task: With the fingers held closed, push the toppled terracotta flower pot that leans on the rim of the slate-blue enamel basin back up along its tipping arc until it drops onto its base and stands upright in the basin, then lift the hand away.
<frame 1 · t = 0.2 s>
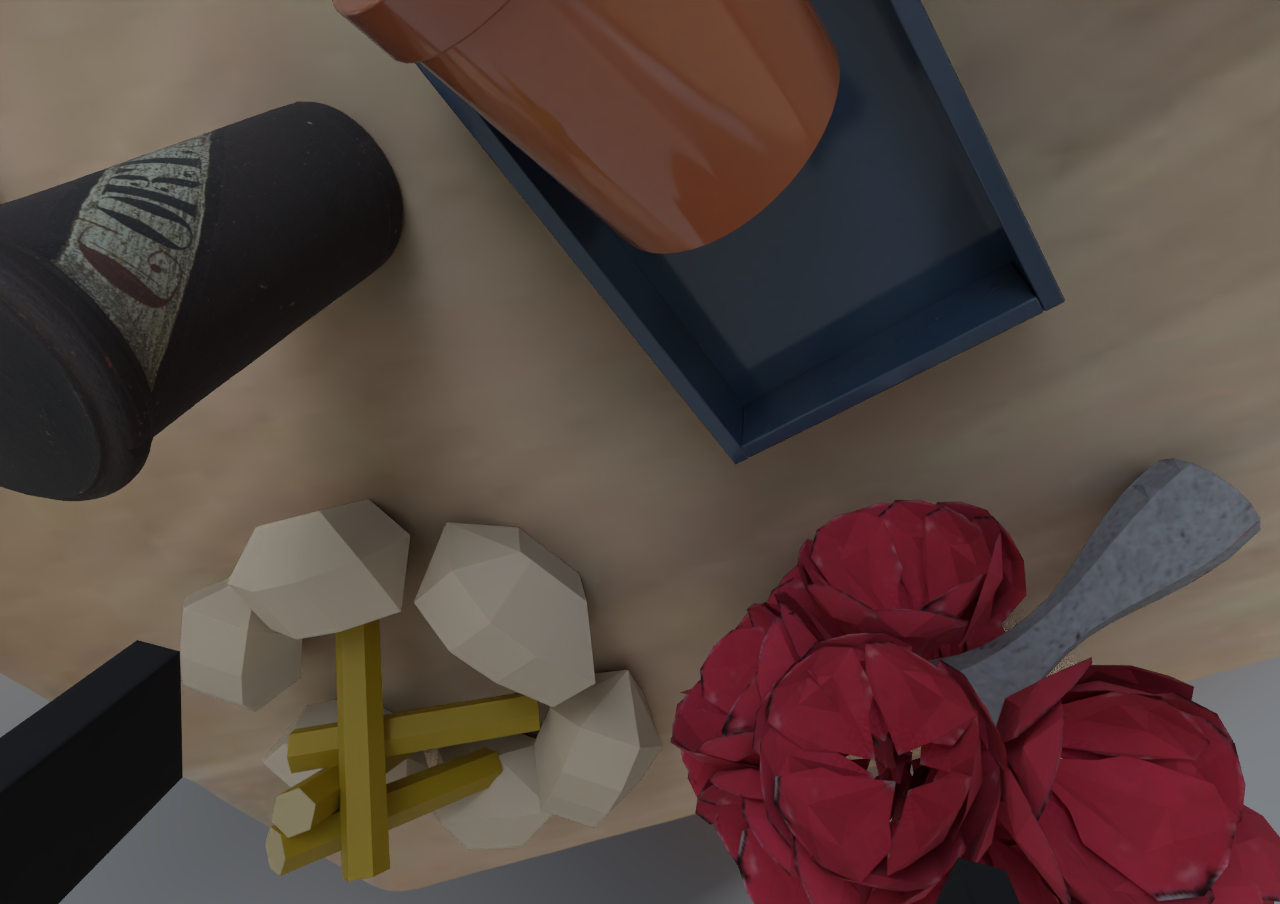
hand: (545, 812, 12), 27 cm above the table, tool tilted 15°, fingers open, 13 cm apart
flower pot: (712, 134, 26), point 5 cm above the table, touching basin
basin: (741, 142, 31), on the table
container: (331, 193, 35), on the table
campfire: (443, 650, 56), on the table
bouquet: (929, 565, 43), on the table
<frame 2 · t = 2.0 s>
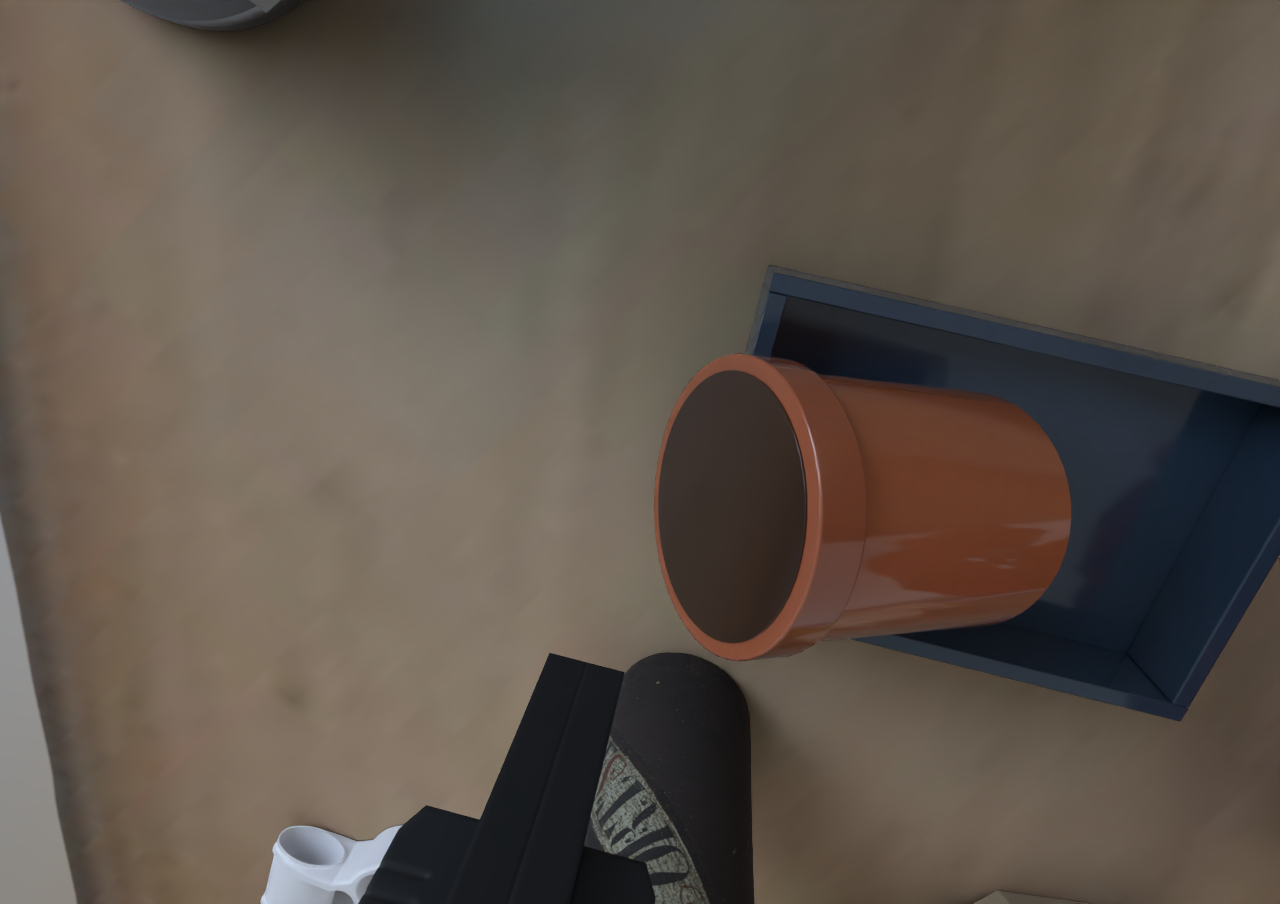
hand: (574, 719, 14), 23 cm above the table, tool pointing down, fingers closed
flower pot: (958, 507, 30), point 5 cm above the table, touching basin
basin: (959, 475, 35), on the table
container: (681, 709, 41), on the table
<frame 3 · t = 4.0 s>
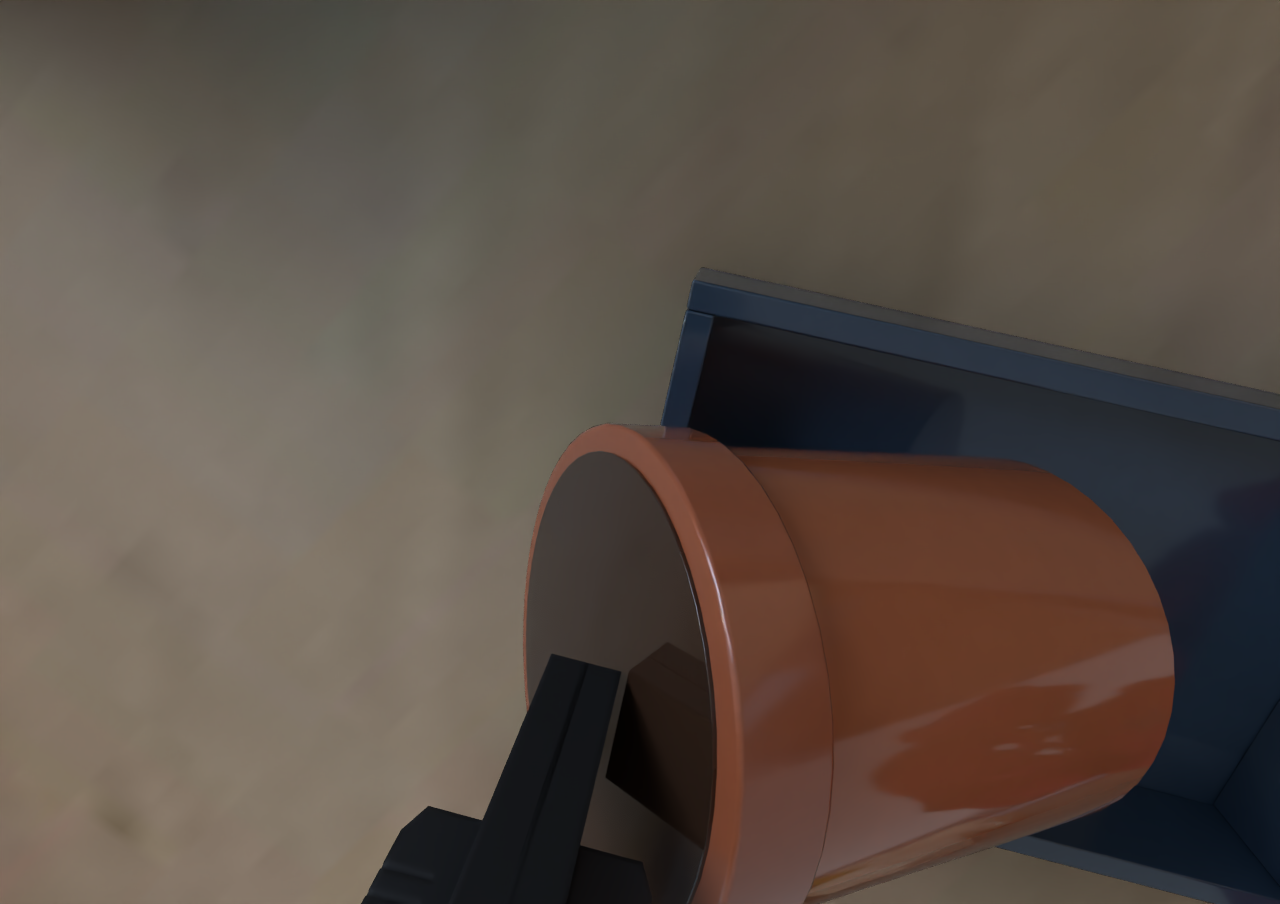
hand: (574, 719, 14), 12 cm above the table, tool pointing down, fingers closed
flower pot: (981, 629, 20), point 5 cm above the table, touching basin, gripper
basin: (977, 561, 25), on the table
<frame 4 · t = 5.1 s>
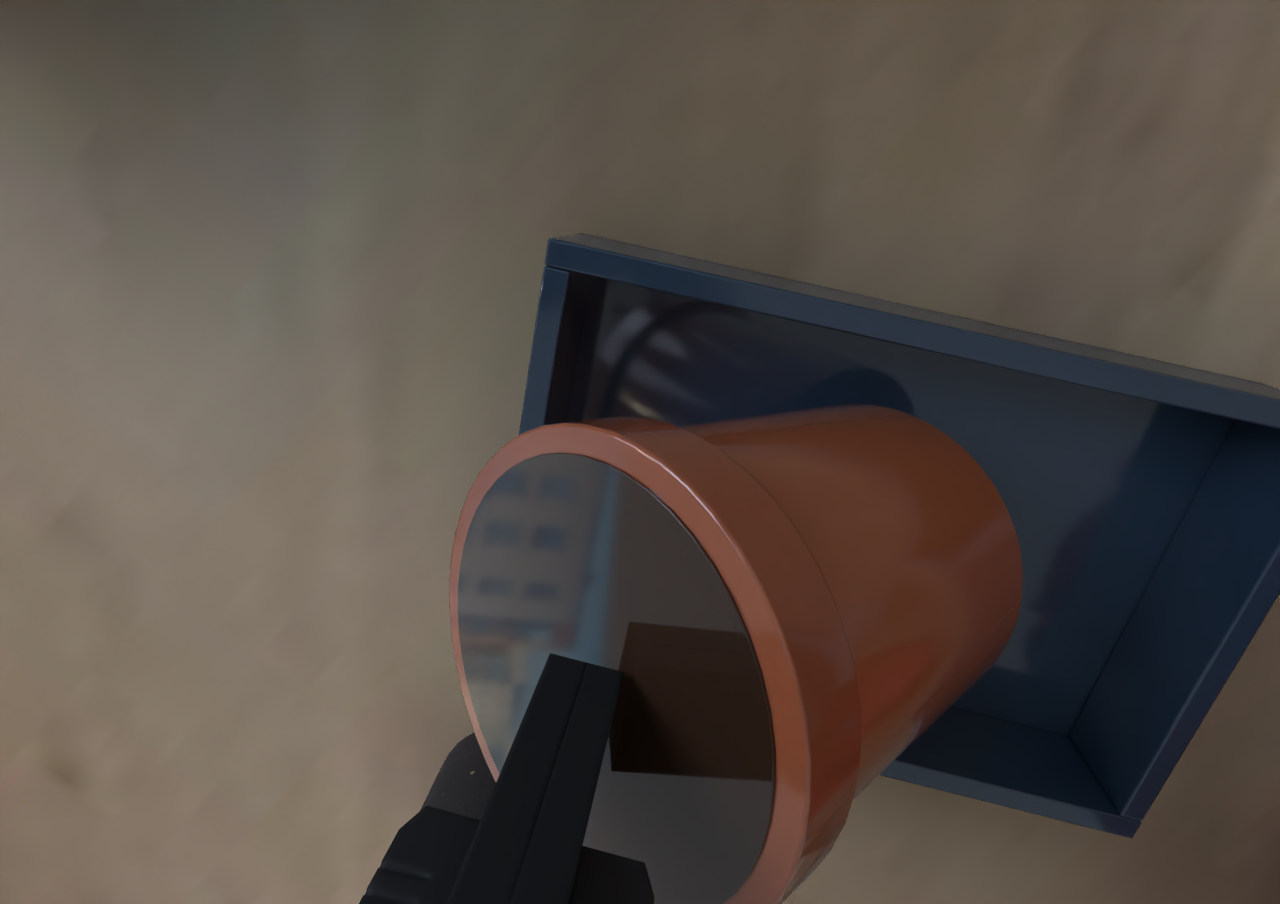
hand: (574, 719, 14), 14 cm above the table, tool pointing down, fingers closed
flower pot: (858, 554, 23), point 4 cm above the table, tilted 21°, touching basin, gripper
basin: (845, 509, 27), on the table
container: (525, 794, 33), on the table
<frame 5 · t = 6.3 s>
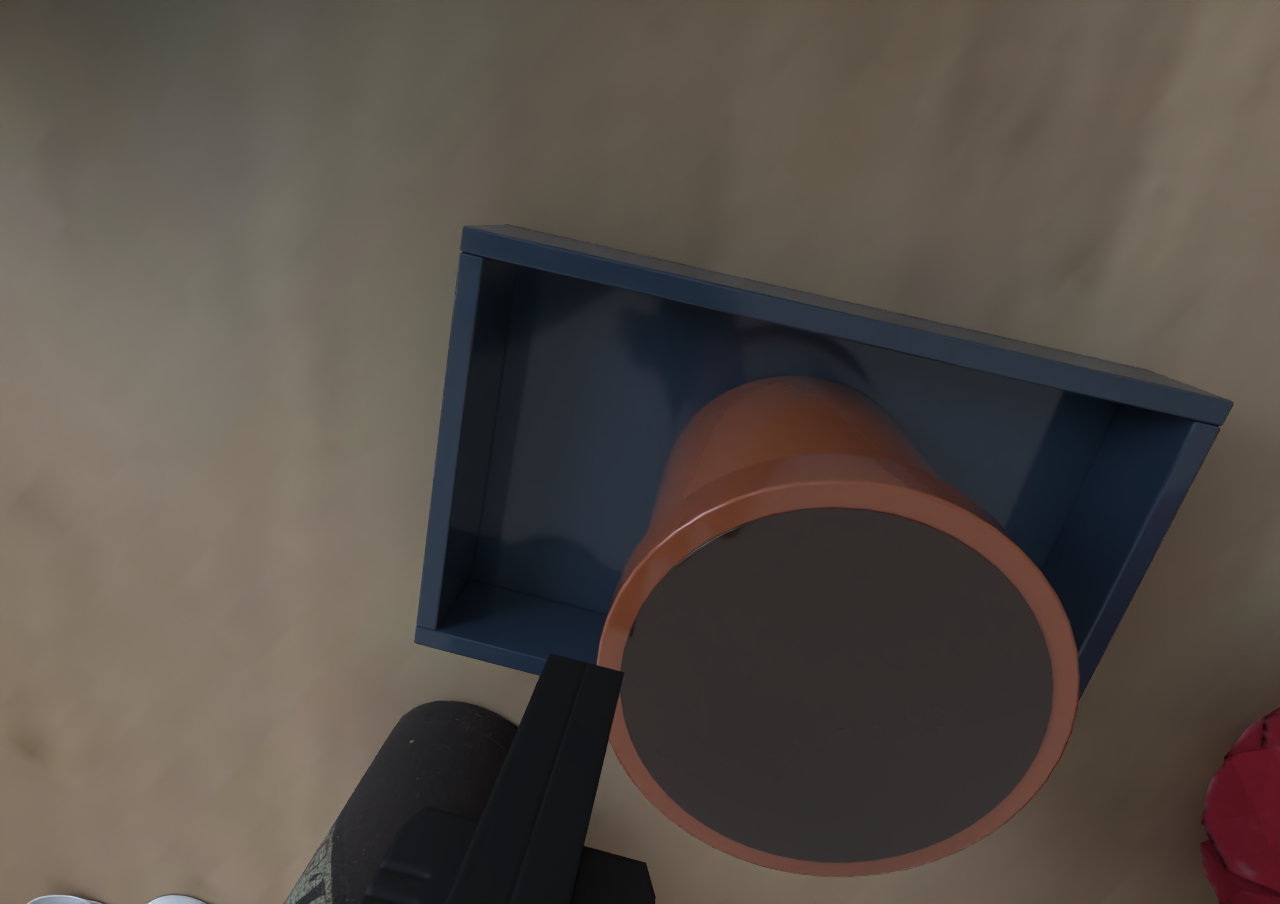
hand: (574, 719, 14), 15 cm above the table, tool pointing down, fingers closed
flower pot: (787, 500, 27), point 1 cm above the table, tilted 60°, touching basin
basin: (763, 489, 28), on the table
container: (469, 767, 35), on the table
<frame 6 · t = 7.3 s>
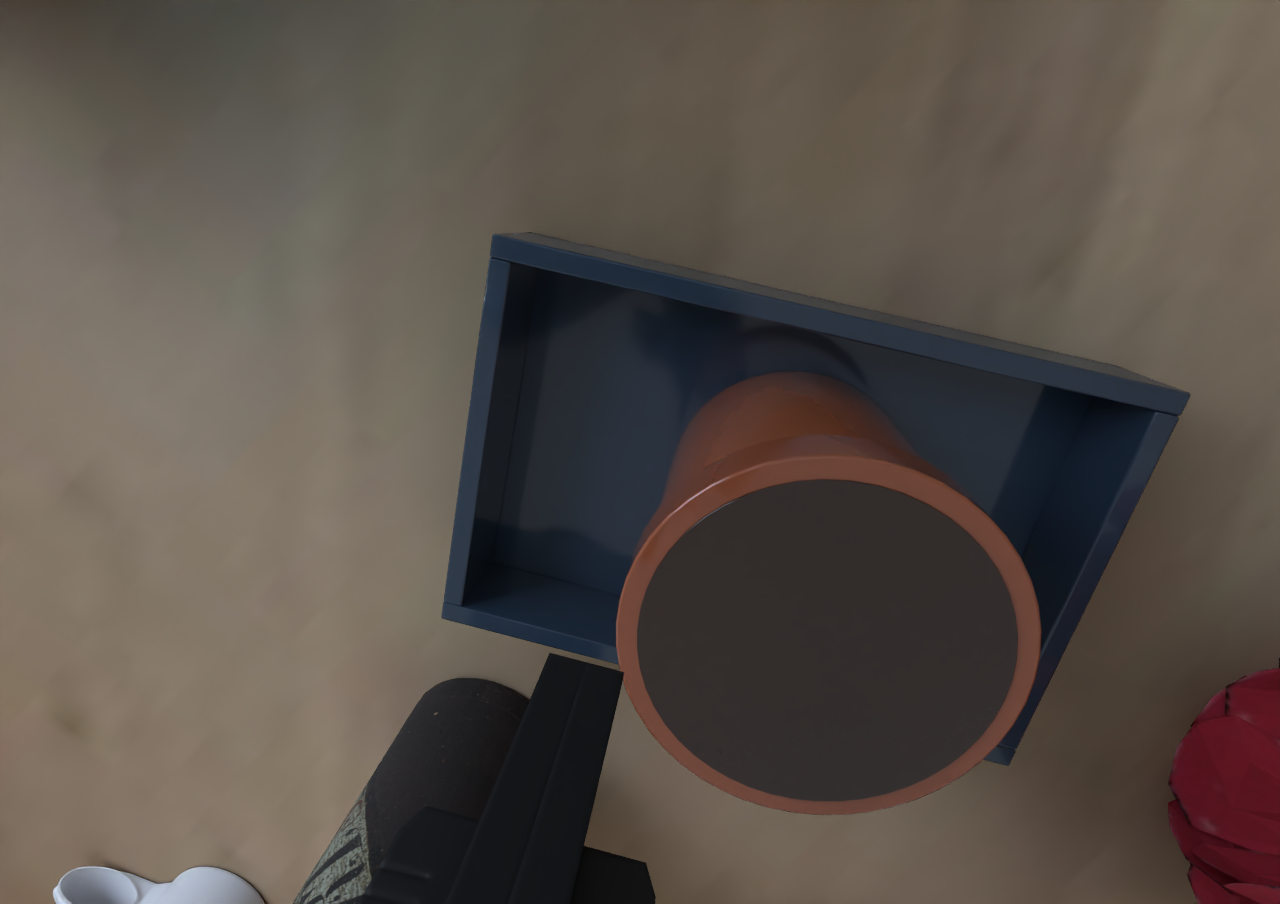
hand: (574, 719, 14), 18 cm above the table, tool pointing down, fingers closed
flower pot: (787, 487, 30), point 1 cm above the table, tilted 60°, touching basin
basin: (764, 477, 30), on the table
container: (487, 741, 37), on the table
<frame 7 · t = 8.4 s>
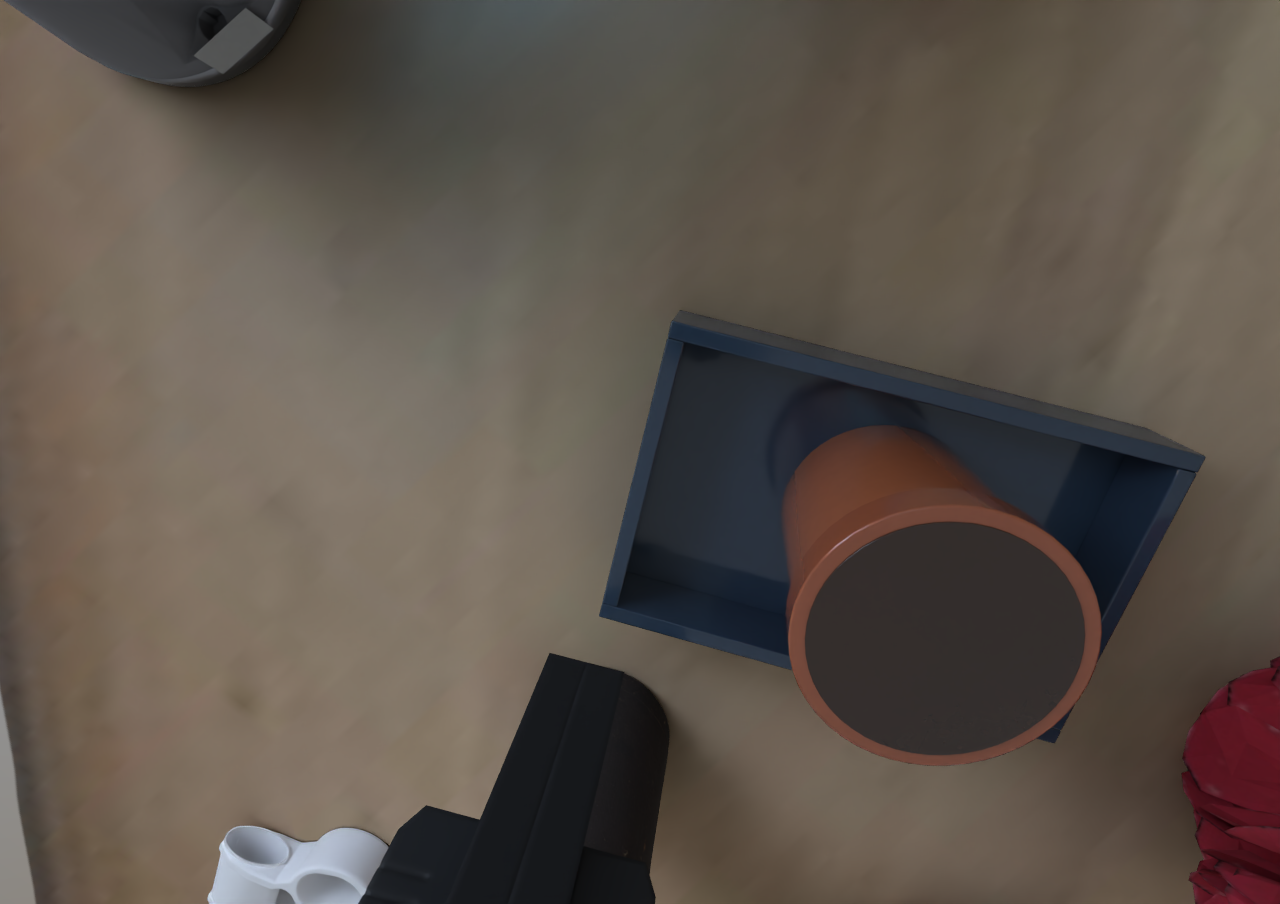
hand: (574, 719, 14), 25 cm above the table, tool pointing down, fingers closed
flower pot: (877, 516, 37), point 1 cm above the table, tilted 60°, touching basin
basin: (858, 507, 37), on the table
container: (606, 722, 44), on the table
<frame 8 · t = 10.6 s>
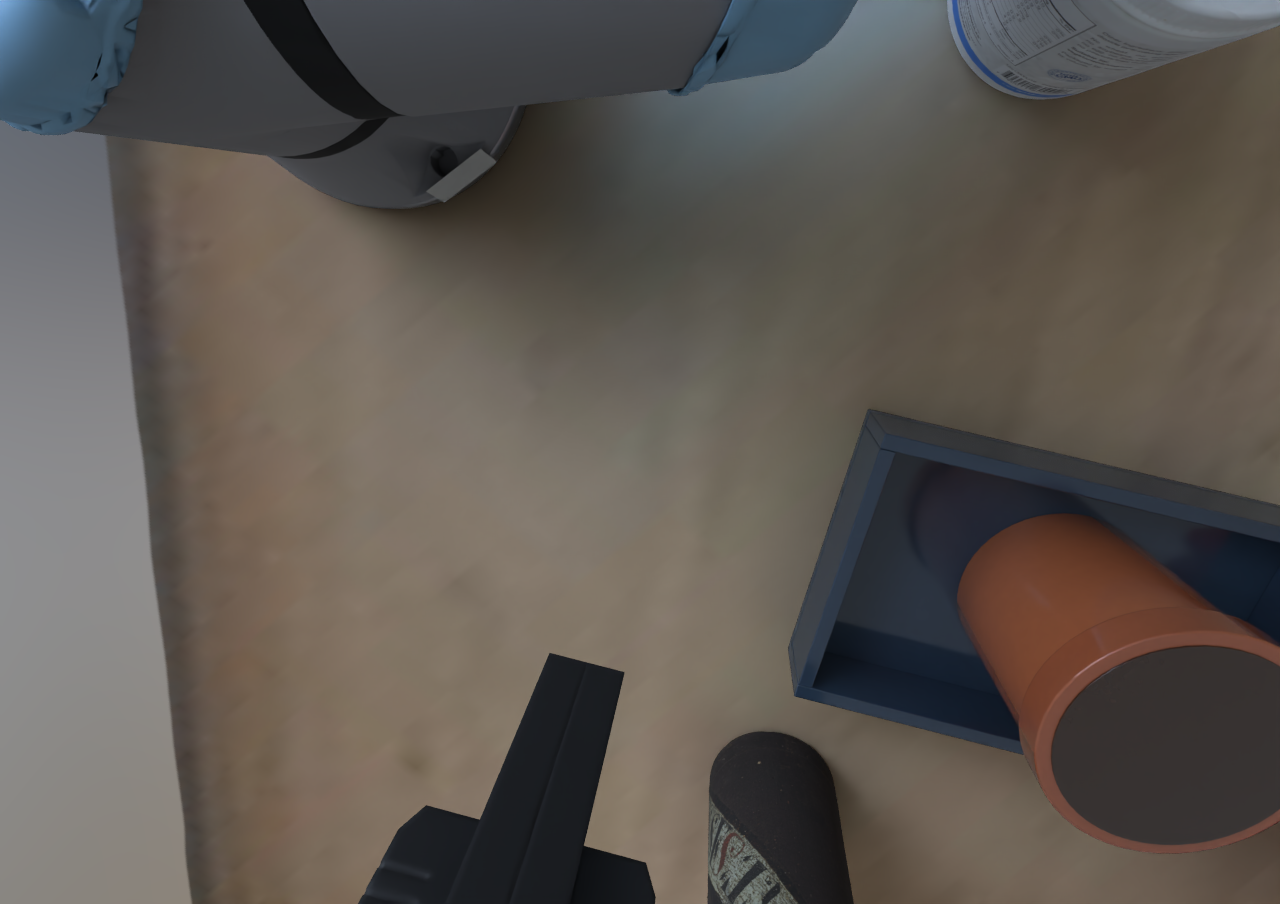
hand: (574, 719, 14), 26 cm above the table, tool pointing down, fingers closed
flower pot: (1051, 595, 39), point 1 cm above the table, tilted 60°, touching basin
basin: (1030, 586, 40), on the table
container: (771, 780, 46), on the table
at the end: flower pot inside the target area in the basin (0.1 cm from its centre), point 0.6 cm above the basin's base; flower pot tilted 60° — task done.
